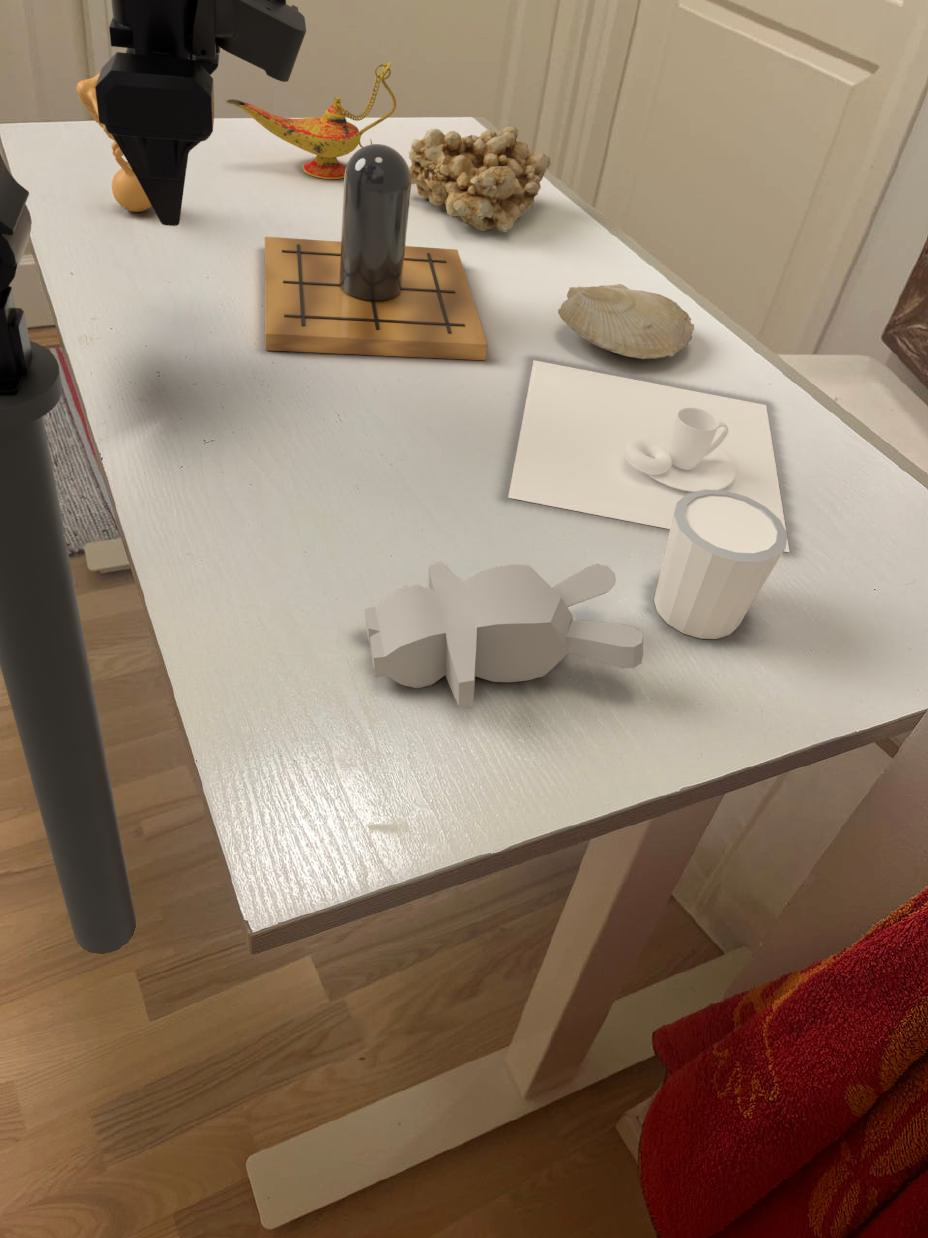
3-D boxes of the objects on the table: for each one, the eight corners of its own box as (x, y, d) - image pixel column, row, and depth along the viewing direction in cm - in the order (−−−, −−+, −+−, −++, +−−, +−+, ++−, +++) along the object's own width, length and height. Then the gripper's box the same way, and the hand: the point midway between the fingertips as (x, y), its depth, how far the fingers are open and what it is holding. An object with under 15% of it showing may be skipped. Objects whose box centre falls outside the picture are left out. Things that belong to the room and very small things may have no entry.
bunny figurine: (357, 554, 57) (608, 525, 59) (362, 617, 61) (598, 587, 63) (379, 676, 50) (660, 638, 53) (383, 739, 54) (646, 700, 56)
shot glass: (671, 652, 60) (705, 565, 56) (627, 577, 65) (655, 491, 60) (769, 640, 62) (810, 555, 58) (719, 568, 67) (754, 484, 62)
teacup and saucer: (619, 483, 73) (633, 436, 70) (621, 425, 78) (634, 379, 76) (737, 506, 72) (756, 459, 70) (731, 446, 78) (748, 401, 75)
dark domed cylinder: (379, 307, 84) (390, 164, 76) (326, 286, 85) (332, 143, 77) (412, 286, 88) (427, 147, 80) (361, 266, 89) (370, 128, 81)
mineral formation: (390, 193, 106) (501, 168, 113) (462, 265, 100) (573, 235, 107) (400, 119, 99) (516, 97, 106) (477, 192, 94) (595, 165, 101)
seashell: (665, 388, 84) (675, 357, 82) (536, 345, 86) (542, 314, 84) (696, 334, 92) (706, 304, 90) (577, 296, 94) (584, 266, 92)
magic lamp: (221, 156, 107) (217, 42, 100) (383, 159, 113) (390, 51, 105) (232, 181, 103) (228, 64, 95) (399, 183, 108) (408, 72, 101)
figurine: (166, 227, 93) (155, 88, 85) (99, 230, 91) (81, 88, 83) (148, 191, 98) (137, 57, 90) (84, 193, 96) (67, 56, 88)
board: (265, 350, 80) (265, 332, 78) (264, 251, 92) (264, 234, 91) (485, 360, 83) (488, 343, 82) (455, 264, 96) (457, 247, 95)
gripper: (304, -24, 52) (299, 265, 62) (295, -94, 65) (292, 154, 75) (77, -50, 49) (112, 253, 60) (115, -118, 63) (138, 142, 73)
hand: (174, 195), depth 67 cm, fingers open, 9 cm apart
